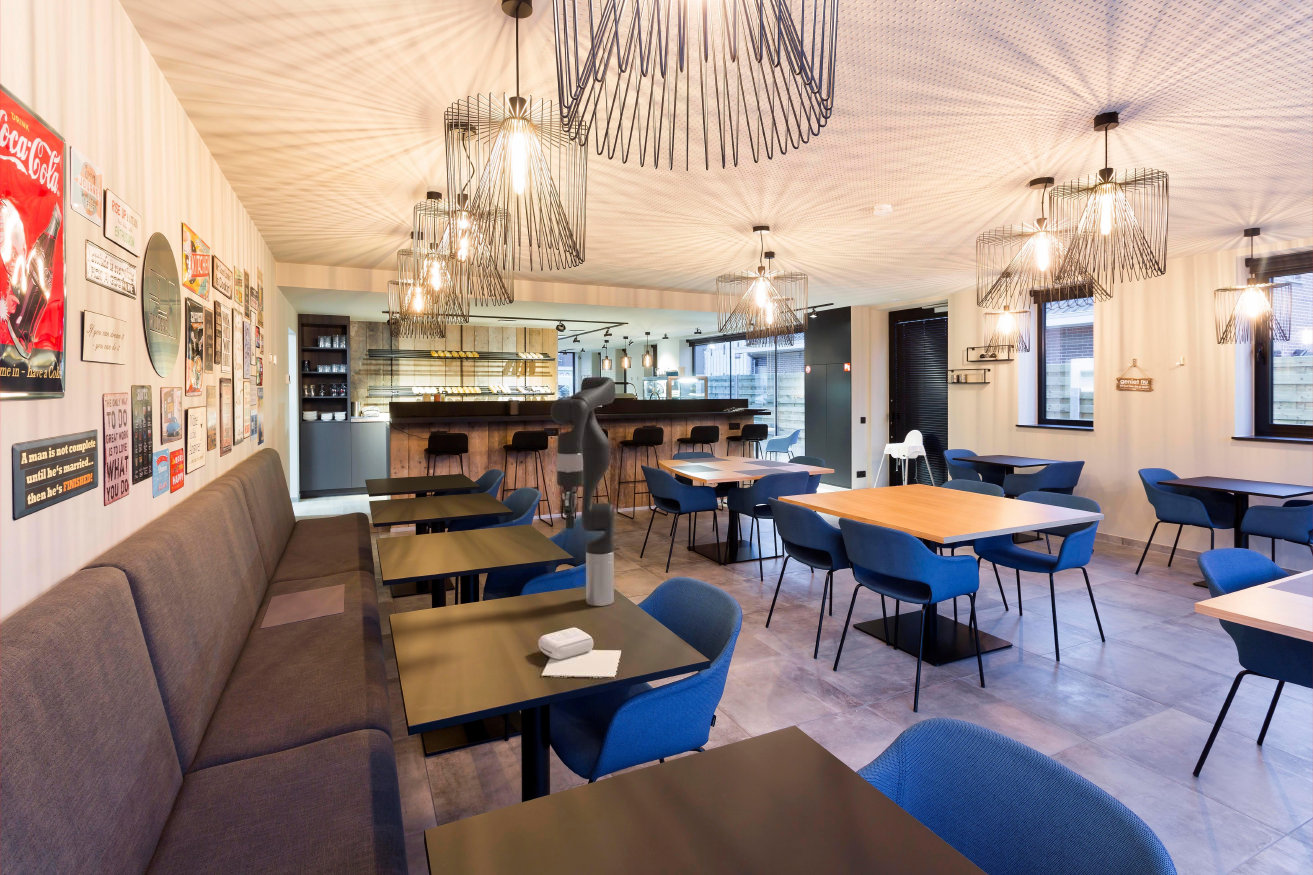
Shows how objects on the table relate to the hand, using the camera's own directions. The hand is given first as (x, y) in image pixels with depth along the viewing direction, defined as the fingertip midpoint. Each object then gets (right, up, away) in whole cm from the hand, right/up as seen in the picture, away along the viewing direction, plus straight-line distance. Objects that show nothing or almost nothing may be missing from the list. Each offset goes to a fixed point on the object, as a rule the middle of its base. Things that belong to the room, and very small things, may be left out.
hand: (570, 528), depth 183 cm
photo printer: (+5, -28, -11) cm, 31 cm away
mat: (+6, -32, -21) cm, 39 cm away
